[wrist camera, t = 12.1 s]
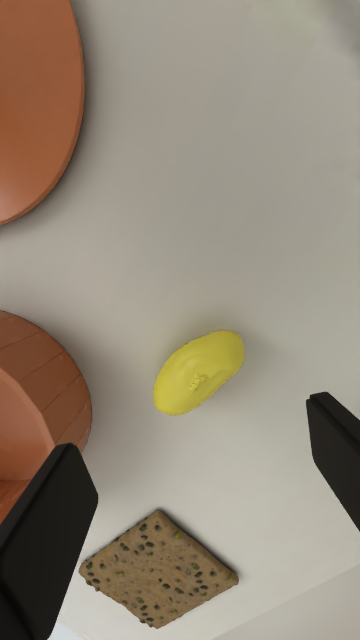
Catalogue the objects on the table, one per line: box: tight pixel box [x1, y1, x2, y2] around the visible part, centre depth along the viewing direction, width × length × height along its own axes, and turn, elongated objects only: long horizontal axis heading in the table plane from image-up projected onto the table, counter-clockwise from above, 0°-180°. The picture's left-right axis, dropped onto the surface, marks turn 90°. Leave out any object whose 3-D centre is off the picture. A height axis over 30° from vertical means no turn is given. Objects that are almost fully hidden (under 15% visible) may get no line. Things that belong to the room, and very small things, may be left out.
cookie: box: [79, 510, 239, 629], centre depth 23 cm, size 12×12×1 cm
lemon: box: [153, 330, 244, 415], centre depth 16 cm, size 4×8×4 cm, turn 129°
